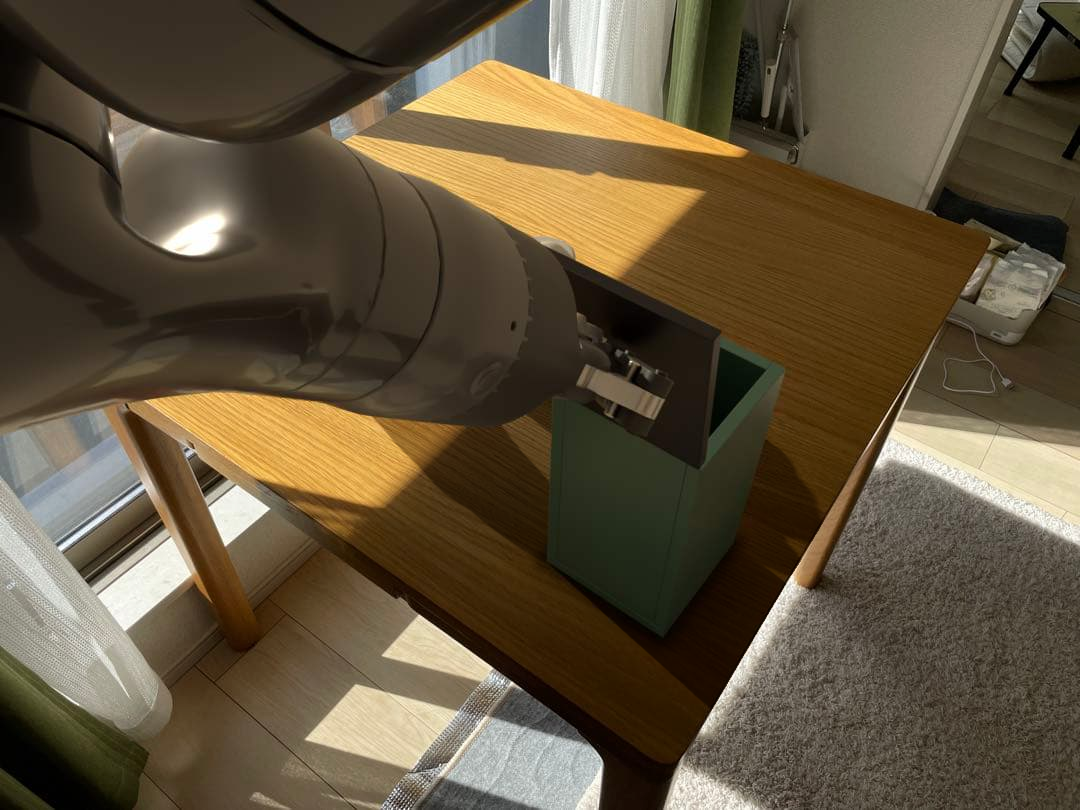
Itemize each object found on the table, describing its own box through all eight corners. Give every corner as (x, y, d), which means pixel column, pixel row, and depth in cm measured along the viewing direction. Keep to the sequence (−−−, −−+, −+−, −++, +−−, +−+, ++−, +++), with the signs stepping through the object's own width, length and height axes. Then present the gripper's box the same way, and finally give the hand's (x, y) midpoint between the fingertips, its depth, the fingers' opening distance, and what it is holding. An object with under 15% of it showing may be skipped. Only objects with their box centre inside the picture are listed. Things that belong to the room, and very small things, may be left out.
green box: (623, 477, 73) (646, 300, 59) (734, 542, 69) (786, 367, 55) (546, 561, 67) (552, 388, 54) (662, 638, 63) (701, 470, 49)
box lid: (541, 243, 44) (531, 252, 44) (722, 330, 40) (713, 341, 40) (556, 378, 53) (548, 387, 53) (706, 460, 49) (698, 471, 49)
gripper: (643, 283, 26) (760, 355, 42) (329, 136, 32) (537, 249, 47) (532, 507, 27) (687, 495, 43) (246, 327, 33) (476, 375, 48)
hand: (608, 366), depth 45 cm, fingers closed
